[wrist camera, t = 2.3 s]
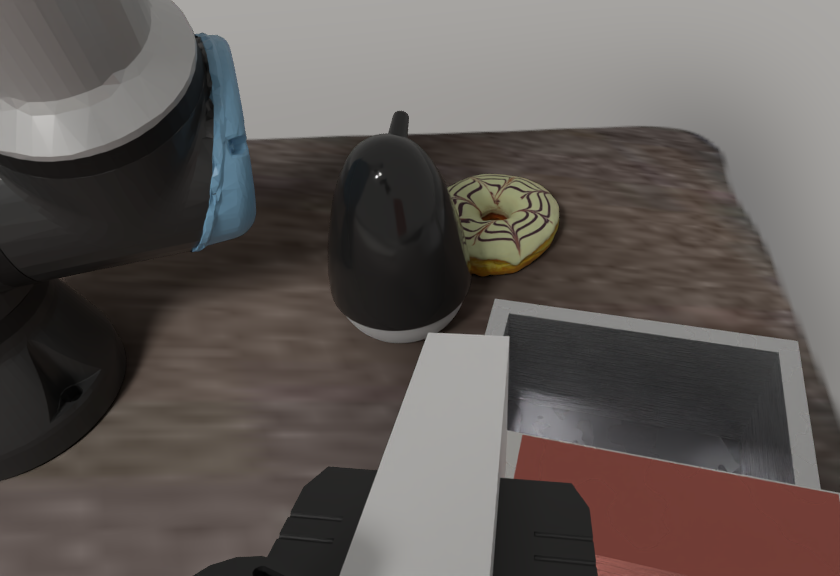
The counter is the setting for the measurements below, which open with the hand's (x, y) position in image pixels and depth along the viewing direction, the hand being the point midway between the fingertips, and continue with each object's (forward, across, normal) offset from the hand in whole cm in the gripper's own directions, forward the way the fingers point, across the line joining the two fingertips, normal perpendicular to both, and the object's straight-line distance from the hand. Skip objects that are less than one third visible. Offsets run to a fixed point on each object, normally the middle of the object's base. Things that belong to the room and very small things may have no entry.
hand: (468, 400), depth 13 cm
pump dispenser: (+36, -8, -13) cm, 39 cm away
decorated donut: (+44, -2, -9) cm, 45 cm away
